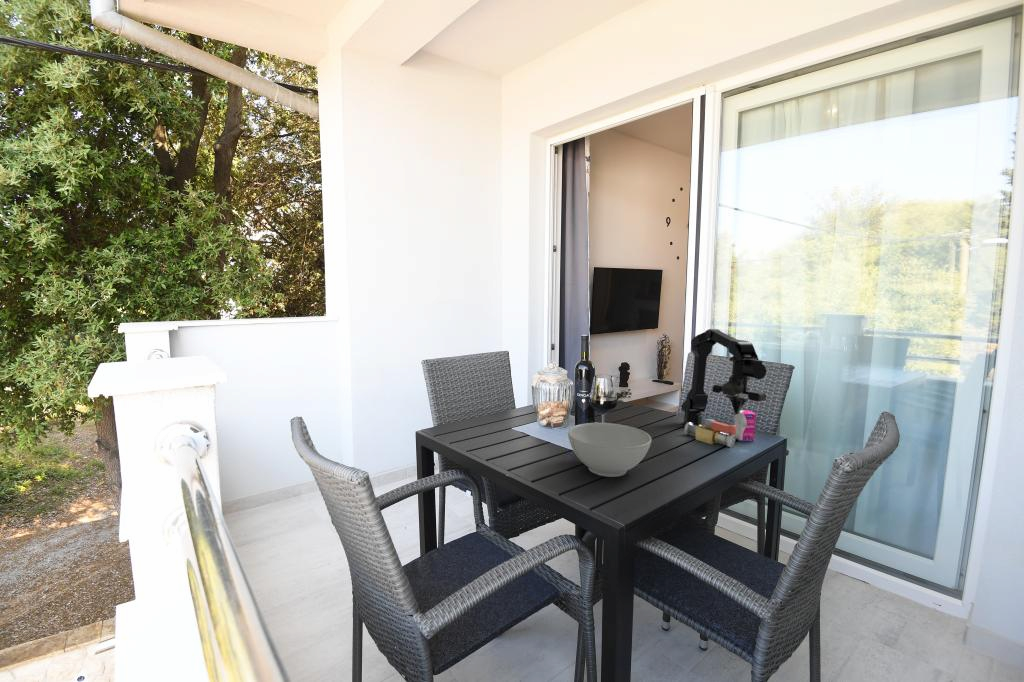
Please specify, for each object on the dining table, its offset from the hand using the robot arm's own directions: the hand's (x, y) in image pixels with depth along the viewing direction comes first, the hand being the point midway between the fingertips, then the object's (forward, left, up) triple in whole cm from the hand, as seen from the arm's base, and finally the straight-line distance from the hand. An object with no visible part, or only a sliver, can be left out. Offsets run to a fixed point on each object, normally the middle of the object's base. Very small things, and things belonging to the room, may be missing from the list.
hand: (736, 414), depth 188 cm
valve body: (-9, -3, -12) cm, 16 cm away
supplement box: (-2, +11, -13) cm, 17 cm away
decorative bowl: (-9, -61, -13) cm, 63 cm away
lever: (-4, -3, -7) cm, 9 cm away
